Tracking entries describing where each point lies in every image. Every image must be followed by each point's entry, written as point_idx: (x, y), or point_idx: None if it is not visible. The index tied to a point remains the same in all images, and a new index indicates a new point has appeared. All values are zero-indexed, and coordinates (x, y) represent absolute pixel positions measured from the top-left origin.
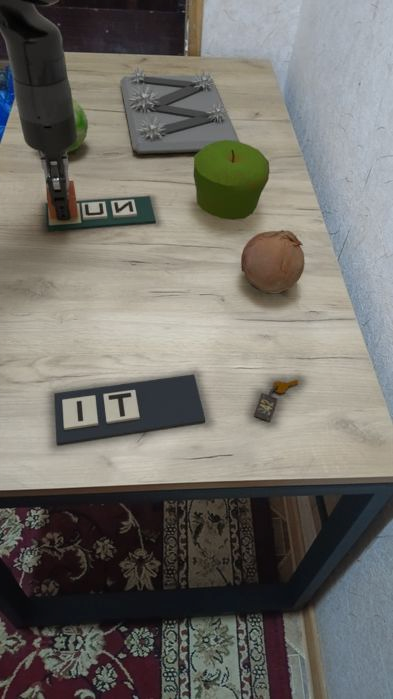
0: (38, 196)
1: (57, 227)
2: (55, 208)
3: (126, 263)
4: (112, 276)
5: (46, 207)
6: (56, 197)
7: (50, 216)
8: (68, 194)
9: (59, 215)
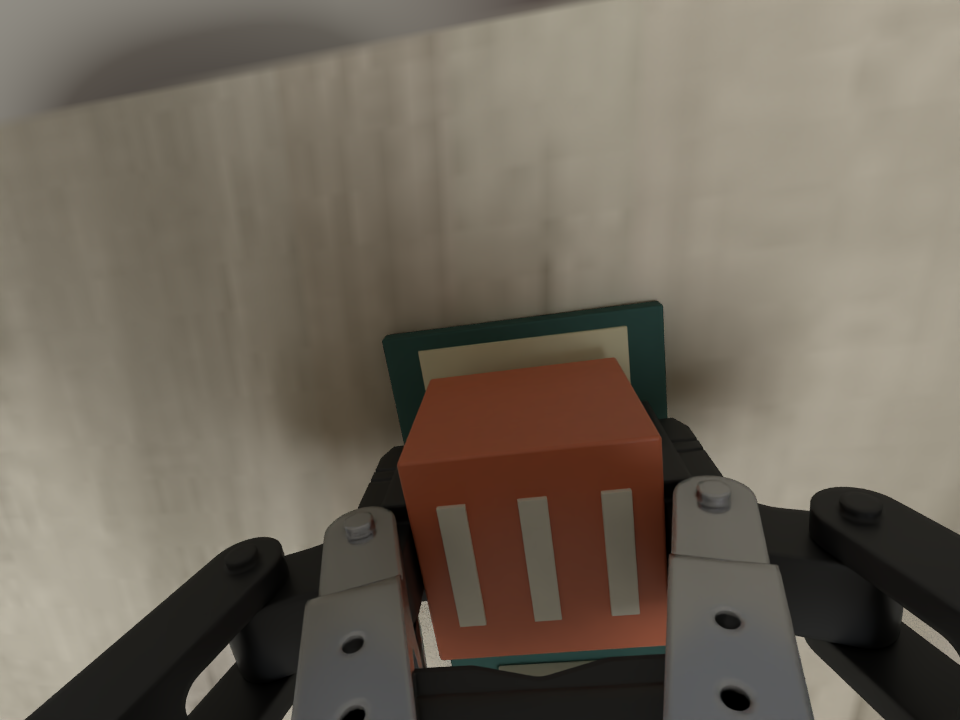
0: (773, 233)
1: (402, 400)
2: (397, 472)
3: (201, 686)
4: (108, 637)
5: (609, 315)
6: (256, 624)
7: (427, 387)
8: (457, 622)
9: (376, 474)
